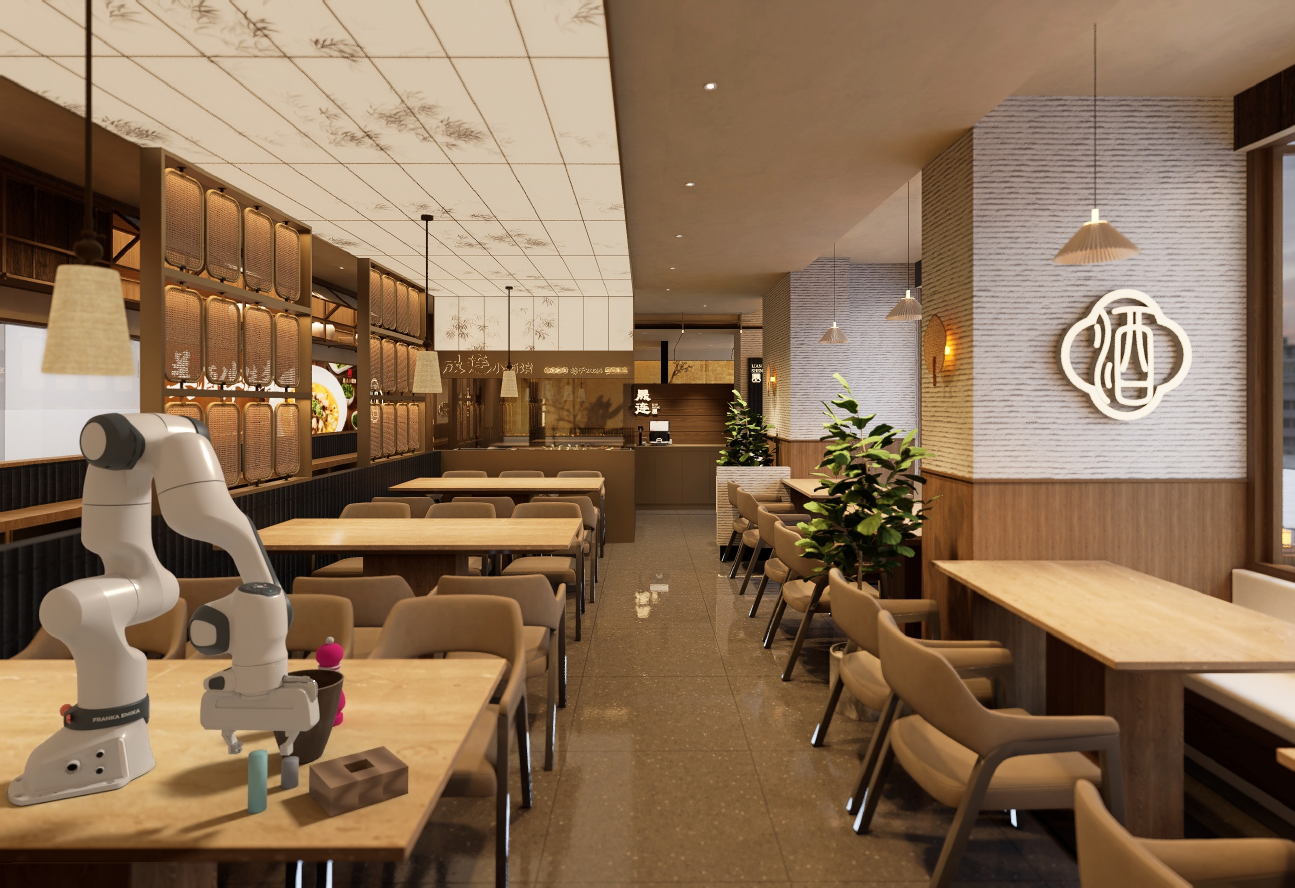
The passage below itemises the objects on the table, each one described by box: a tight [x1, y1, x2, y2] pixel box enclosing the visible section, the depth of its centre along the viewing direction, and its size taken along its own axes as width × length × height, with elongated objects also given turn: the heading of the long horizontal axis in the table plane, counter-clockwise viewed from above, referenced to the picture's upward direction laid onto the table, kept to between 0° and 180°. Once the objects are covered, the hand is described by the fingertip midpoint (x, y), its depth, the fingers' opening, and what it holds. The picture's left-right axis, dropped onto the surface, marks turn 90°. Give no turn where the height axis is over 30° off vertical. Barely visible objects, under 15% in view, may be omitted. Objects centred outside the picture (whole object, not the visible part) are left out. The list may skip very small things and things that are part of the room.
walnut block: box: [308, 745, 409, 818], centre depth 137 cm, size 14×12×5 cm
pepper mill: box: [315, 636, 346, 727], centre depth 171 cm, size 7×7×20 cm
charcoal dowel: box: [280, 756, 300, 791], centre depth 139 cm, size 3×3×5 cm
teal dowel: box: [247, 749, 268, 815], centre depth 130 cm, size 3×3×10 cm
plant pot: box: [272, 668, 345, 765], centre depth 152 cm, size 15×15×16 cm
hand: (260, 753), depth 130 cm, fingers open, 8 cm apart
